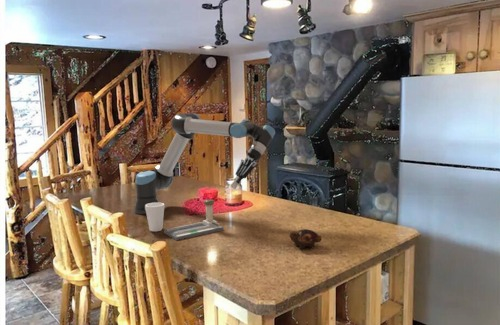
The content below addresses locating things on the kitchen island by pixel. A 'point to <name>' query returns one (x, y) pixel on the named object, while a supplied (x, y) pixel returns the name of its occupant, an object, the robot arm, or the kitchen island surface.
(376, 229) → the kitchen island surface
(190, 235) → the board
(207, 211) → the tuning slider
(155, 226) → the foam cup
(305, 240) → the decorative turtle
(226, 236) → the kitchen island surface
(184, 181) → the kitchen island surface
